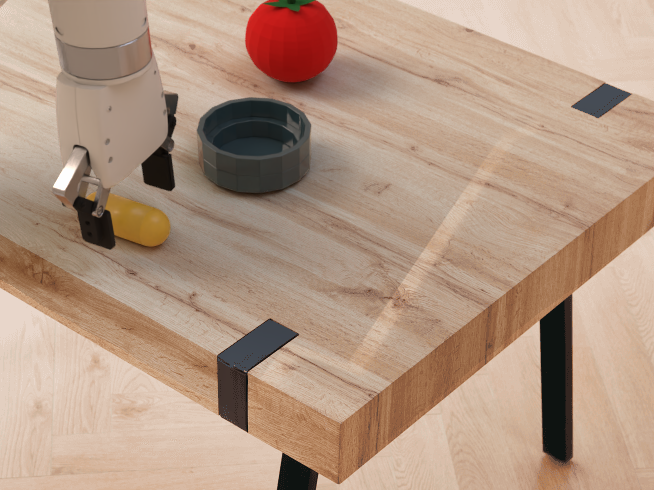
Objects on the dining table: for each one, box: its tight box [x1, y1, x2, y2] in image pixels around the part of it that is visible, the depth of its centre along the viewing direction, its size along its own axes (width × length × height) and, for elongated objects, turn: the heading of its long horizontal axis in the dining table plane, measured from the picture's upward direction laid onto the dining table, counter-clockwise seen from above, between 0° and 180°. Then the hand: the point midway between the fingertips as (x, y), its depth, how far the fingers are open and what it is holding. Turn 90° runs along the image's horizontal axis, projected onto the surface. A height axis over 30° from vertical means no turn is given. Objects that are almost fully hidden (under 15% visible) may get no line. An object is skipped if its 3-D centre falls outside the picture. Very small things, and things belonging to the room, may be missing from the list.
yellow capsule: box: [85, 191, 172, 247], centre depth 100 cm, size 9×4×4 cm, turn 66°
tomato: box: [244, 0, 338, 83], centre depth 120 cm, size 10×10×10 cm
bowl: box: [196, 96, 312, 194], centre depth 109 cm, size 11×11×4 cm
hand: (130, 214), depth 99 cm, fingers open, 9 cm apart
